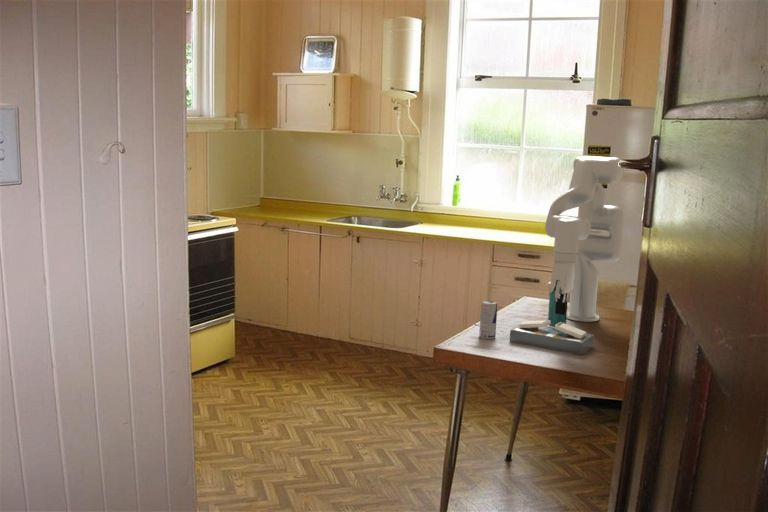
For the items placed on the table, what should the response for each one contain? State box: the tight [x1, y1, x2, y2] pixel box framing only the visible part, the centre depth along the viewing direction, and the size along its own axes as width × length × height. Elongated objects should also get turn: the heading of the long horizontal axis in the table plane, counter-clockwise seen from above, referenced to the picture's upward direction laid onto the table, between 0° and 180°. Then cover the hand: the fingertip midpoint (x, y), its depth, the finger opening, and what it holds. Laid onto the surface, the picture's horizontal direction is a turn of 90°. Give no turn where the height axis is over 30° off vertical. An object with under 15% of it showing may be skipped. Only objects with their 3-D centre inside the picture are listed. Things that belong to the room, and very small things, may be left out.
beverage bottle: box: [547, 291, 569, 328], centre depth 275 cm, size 6×7×20 cm
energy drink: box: [478, 300, 498, 340], centre depth 262 cm, size 5×5×12 cm
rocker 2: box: [553, 322, 587, 339], centre depth 254 cm, size 5×9×1 cm, turn 58°
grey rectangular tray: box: [509, 324, 595, 356], centre depth 258 cm, size 12×24×5 cm, turn 58°
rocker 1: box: [518, 319, 551, 328], centre depth 260 cm, size 5×9×1 cm, turn 58°
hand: (560, 313), depth 254 cm, fingers closed
